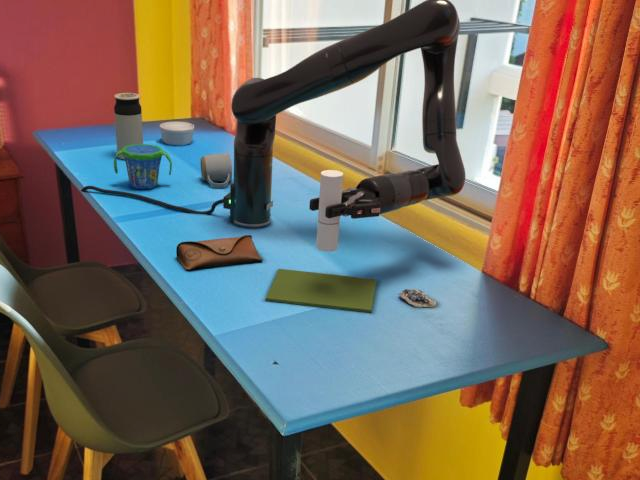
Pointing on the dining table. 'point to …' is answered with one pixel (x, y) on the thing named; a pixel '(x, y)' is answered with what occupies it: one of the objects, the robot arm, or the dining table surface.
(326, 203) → the tube
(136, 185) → the snack cup
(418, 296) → the rough mineral rock
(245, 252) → the sunglasses case
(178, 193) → the dining table surface
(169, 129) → the ramekin
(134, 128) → the travel mug
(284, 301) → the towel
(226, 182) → the ceramic mug
